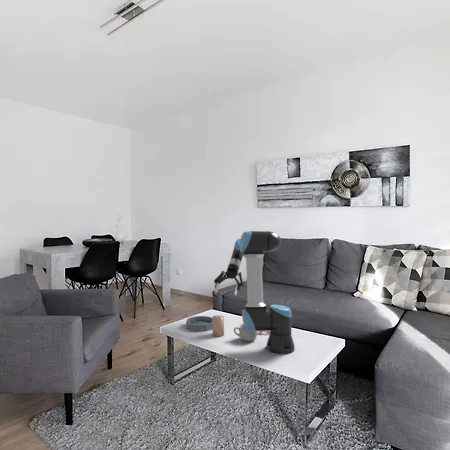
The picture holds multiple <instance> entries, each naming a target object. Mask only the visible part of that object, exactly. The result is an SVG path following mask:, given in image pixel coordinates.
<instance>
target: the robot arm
mask: <svg viewBox="0 0 450 450" xmlns="http://www.w3.org/2000/svg"><path fill="white" fill-rule="evenodd" d="M281 246H282V238H281V237H280V235H279V234H277V233H275V232H273V231H269V230H266V231H264V230H263V231H261V230H256V231H255V230H250V231H243V232H242V234H241V236H240V238H238V239H236V241H235V243H234V247H233V251H232V254H231V257H230V260H229V262H228V264H227V268H226V271H225V270H221V272H220V273H219V275H218V276H217V277H215V279H213V282H214V294H217V293H218V290H219V287H220V284H221V283H222V282H224V281H225V280H228V279H229V280H230V279H231V280H233V279H234V281H235V282H236V286H235V289H234V296H237V294H238V291H240V288H241V287H244V281H243V276H242V275H243V274H242V272H241V271H239V270H240V267H241V264H242V260H243V257H244V258H245V263H246V268H245V269H246V291H247V292H246V293H247V303H246V304H245V305H244V308H243V309H242V311H241V317H242V324H244V326H245V329H246V330H247V331H254V332H256V331H257V332H259V331H269V330H270V335H268V338H267V340H266V341H267V342H266V350H267V351H269V352H271V353H274V354H282V355H284V354H285V355H286V354H291V353H293V352H294V351H295V350H296V349H295V347H296V346H295V342H294V339H293V336H292V323H293V322H292V320H293V319H292V318H293V316H292V309H290V307H288V306H286V305H280V304H270V306H269V308H267V304H266V303H265V302H264V287H263V286H264V285H263V263H262V261H263V260H262V258H263V257H264V256H265V253H268V252H271V253H272V252H275V251H277V250H279V248H281ZM237 276H238V277H239V280H238V278H237Z"/></svg>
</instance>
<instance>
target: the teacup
mask: <svg viewBox="0 0 450 450" xmlns="http://www.w3.org/2000/svg"><path fill="white" fill-rule="evenodd" d="M237 330H238V332H239V333H238V332H236V331H237ZM233 334H235V335H236V336H238V337H239V338H240V339H241V340H242V341H244V342H253V341H255V340H256V339H257V336H258V331H256V332H254V331H247V330H246V329H245V326H244V323H242V324H241V323H240V325H239V326H235V327H234V328H233Z"/></svg>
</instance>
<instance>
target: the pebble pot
mask: <svg viewBox="0 0 450 450" xmlns="http://www.w3.org/2000/svg"><path fill="white" fill-rule="evenodd" d="M212 318H213V329H212V337H215V338H220V337H223V336H225V316H224V315H216V314H215V315H213V316H212Z"/></svg>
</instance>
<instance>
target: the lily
mask: <svg viewBox="0 0 450 450" xmlns="http://www.w3.org/2000/svg"><path fill="white" fill-rule="evenodd" d="M262 333H265V334H266V335H267V336H269V335H270V330H269V331H257V335H258V336H260V335H261V334H262Z"/></svg>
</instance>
